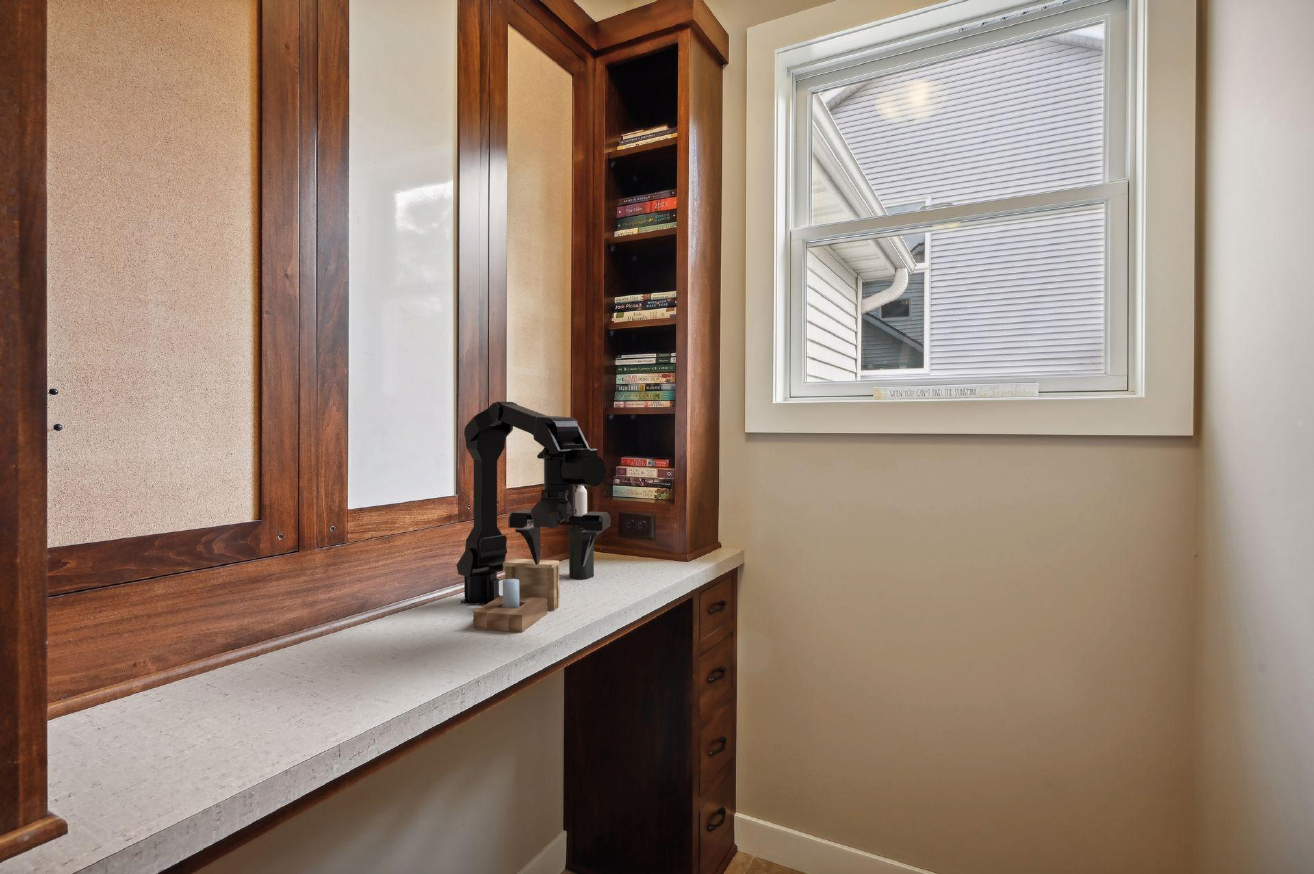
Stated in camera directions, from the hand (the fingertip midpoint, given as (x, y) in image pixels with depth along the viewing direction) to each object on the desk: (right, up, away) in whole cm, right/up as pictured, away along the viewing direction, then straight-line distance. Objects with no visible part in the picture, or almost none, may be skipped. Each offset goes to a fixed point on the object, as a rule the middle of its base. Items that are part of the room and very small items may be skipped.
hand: (559, 565), depth 127 cm
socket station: (-10, -12, +8) cm, 17 cm away
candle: (-1, -11, +42) cm, 43 cm away
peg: (-10, -12, +5) cm, 16 cm away
